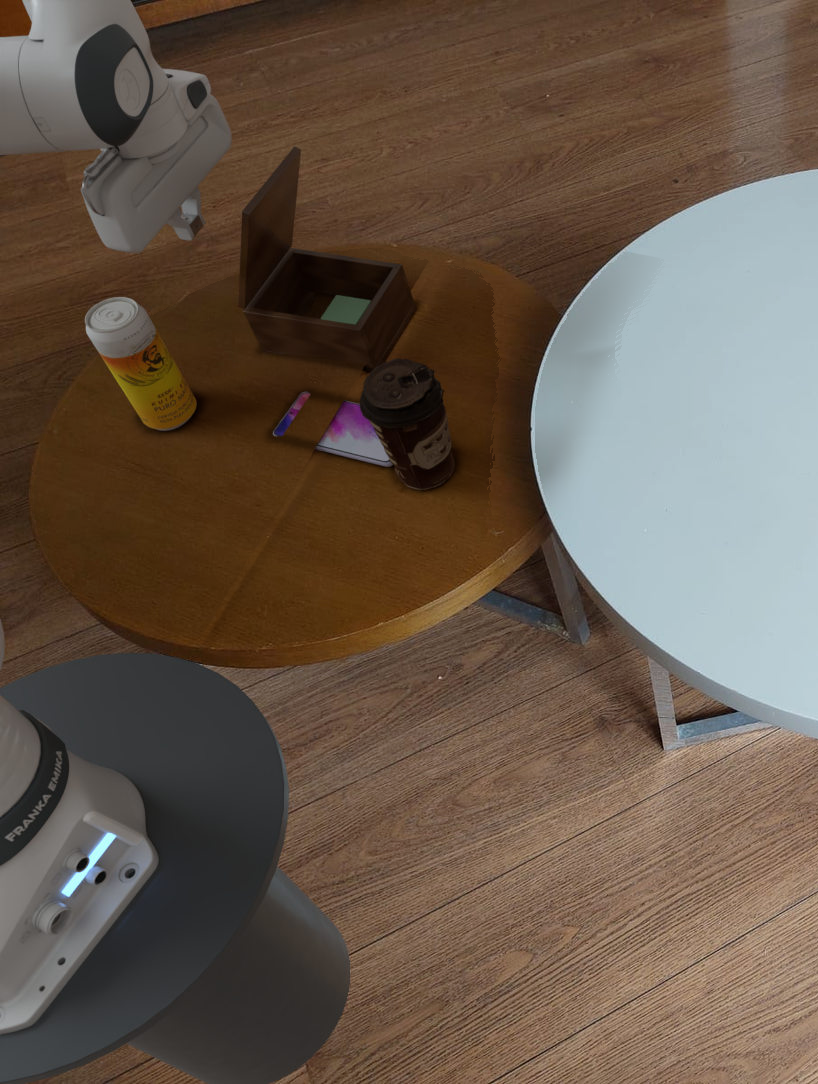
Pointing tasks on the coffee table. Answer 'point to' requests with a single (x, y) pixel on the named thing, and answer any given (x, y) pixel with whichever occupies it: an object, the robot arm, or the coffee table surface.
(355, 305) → the block
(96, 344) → the beer can
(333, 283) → the chest
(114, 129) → the robot arm
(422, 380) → the coffee cup
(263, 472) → the coffee table surface
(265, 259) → the lid
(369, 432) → the purple white flat pieces
